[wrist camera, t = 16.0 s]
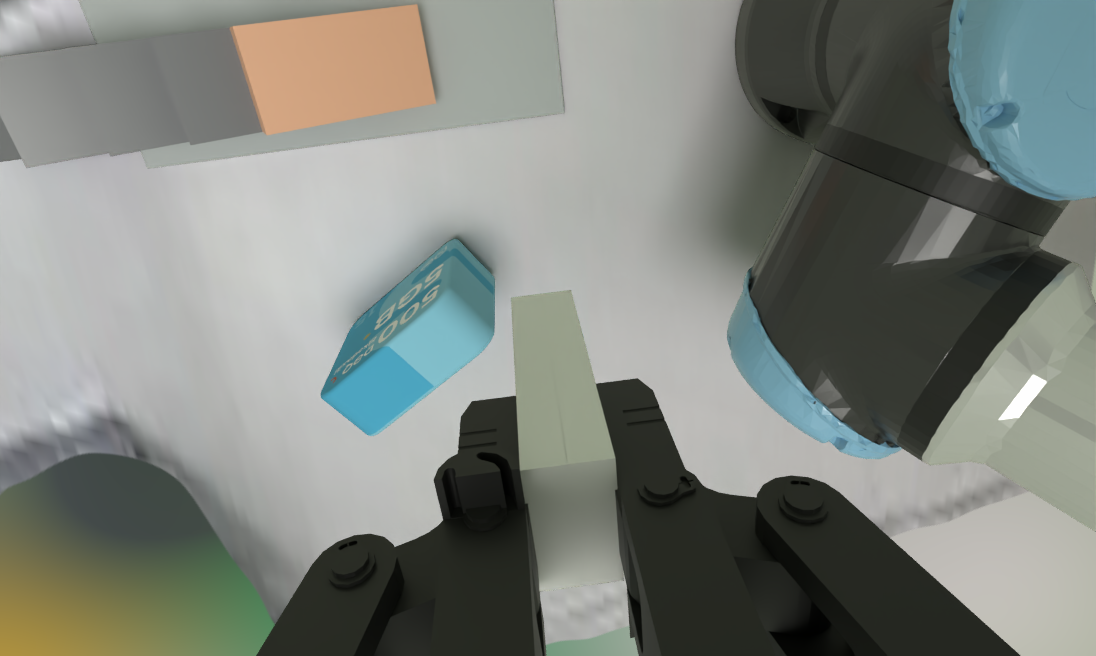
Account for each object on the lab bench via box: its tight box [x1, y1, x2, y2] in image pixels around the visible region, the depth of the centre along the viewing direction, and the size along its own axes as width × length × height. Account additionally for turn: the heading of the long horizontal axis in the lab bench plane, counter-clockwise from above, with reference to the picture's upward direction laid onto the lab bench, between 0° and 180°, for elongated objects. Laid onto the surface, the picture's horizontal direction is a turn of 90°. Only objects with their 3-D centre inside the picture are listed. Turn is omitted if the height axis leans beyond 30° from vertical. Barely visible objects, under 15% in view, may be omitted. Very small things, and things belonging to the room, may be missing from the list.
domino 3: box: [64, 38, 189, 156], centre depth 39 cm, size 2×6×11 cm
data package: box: [321, 239, 495, 436], centre depth 46 cm, size 12×4×12 cm, turn 130°
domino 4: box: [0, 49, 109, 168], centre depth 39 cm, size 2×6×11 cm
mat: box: [78, 0, 564, 169], centre depth 42 cm, size 30×12×1 cm, turn 97°
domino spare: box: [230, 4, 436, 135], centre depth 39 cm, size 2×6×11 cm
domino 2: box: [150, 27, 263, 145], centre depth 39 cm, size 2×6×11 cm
